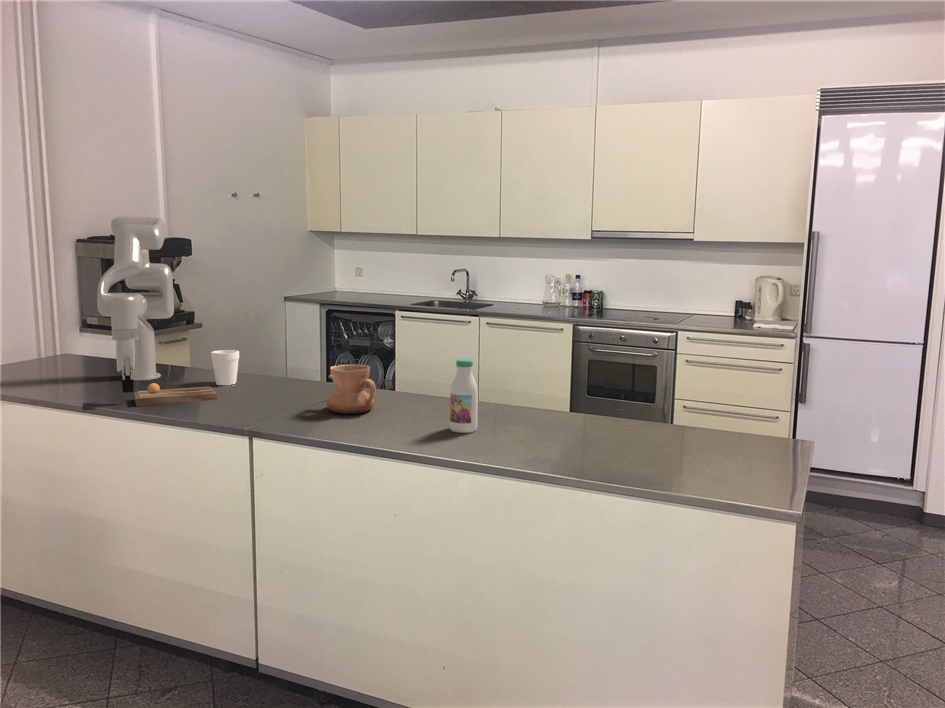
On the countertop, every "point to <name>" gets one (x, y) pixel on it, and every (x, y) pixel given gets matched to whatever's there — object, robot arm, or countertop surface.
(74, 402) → the countertop surface
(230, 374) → the foam cup
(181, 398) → the runway
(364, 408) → the ceramic jug
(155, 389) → the ball
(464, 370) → the milk bottle
